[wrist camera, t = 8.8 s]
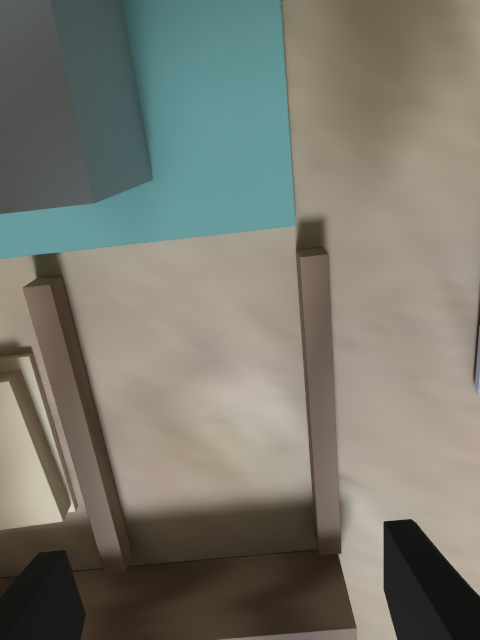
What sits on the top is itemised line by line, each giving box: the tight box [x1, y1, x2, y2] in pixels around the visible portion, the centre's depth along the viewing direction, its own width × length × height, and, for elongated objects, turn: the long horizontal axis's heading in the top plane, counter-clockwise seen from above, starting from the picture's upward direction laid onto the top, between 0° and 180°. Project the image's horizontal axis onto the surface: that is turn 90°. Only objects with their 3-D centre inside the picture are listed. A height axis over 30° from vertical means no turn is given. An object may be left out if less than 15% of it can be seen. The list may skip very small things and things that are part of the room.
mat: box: [0, 0, 296, 259], centre depth 15 cm, size 12×12×1 cm
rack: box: [0, 247, 357, 640], centre depth 19 cm, size 19×16×4 cm
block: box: [0, 0, 153, 214], centre depth 11 cm, size 2×8×7 cm, turn 6°
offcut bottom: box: [0, 353, 78, 512], centre depth 20 cm, size 5×8×1 cm, turn 6°
